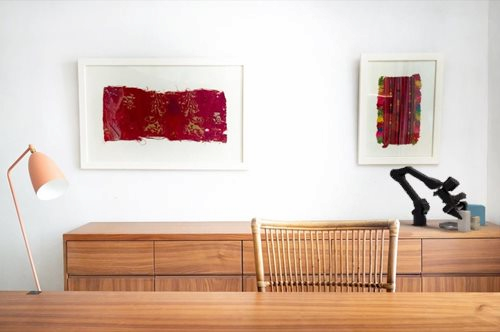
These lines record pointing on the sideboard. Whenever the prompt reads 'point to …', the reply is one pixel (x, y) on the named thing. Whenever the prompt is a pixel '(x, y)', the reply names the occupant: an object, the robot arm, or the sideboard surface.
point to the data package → (477, 212)
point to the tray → (449, 224)
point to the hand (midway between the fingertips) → (466, 218)
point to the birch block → (474, 223)
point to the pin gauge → (448, 227)
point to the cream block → (464, 221)
